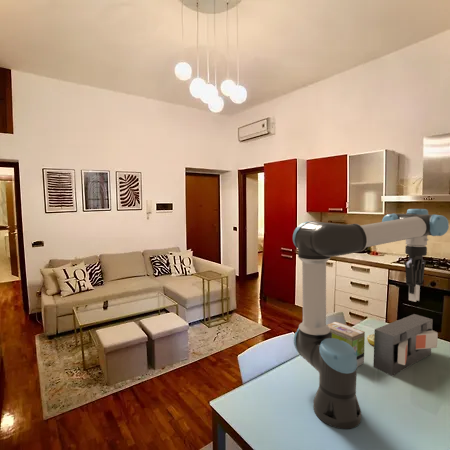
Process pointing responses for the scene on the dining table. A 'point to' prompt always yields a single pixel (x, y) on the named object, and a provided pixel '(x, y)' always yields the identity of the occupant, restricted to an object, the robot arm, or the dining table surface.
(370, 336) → the decorated donut
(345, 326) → the tea box
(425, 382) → the dining table surface
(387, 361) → the grey panel with openings
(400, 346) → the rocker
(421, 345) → the rocker
